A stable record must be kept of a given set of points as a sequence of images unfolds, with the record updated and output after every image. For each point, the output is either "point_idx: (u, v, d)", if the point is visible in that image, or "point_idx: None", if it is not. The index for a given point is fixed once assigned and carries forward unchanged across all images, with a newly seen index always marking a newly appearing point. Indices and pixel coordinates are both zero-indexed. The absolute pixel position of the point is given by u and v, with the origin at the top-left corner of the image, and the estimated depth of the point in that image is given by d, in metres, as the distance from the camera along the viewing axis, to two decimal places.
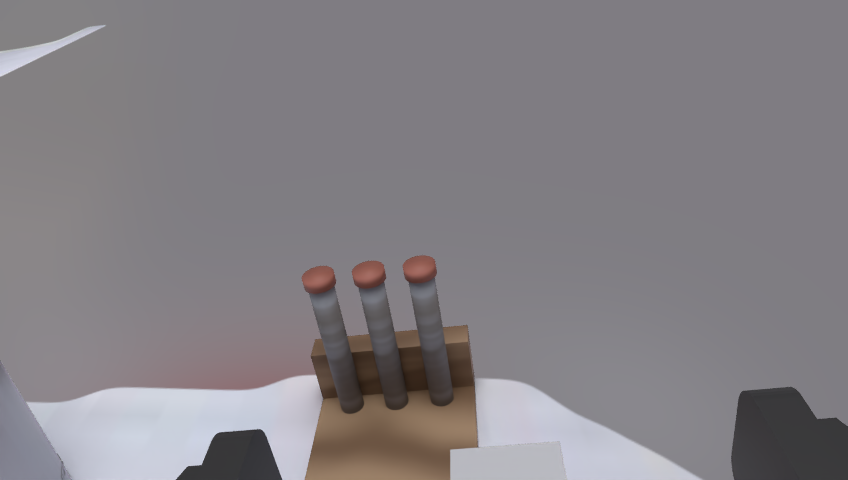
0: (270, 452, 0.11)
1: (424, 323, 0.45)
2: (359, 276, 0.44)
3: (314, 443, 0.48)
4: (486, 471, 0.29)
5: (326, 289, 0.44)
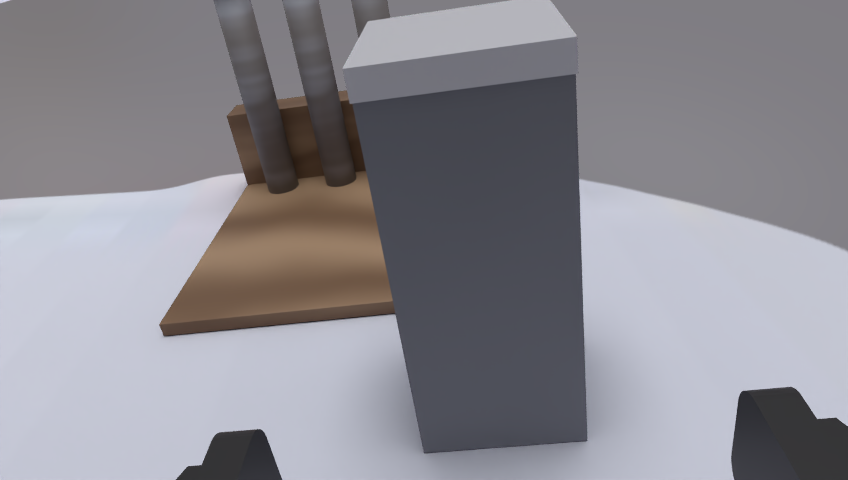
0: (270, 452, 0.11)
1: None
2: None
3: (227, 220, 0.36)
4: (422, 23, 0.17)
5: None
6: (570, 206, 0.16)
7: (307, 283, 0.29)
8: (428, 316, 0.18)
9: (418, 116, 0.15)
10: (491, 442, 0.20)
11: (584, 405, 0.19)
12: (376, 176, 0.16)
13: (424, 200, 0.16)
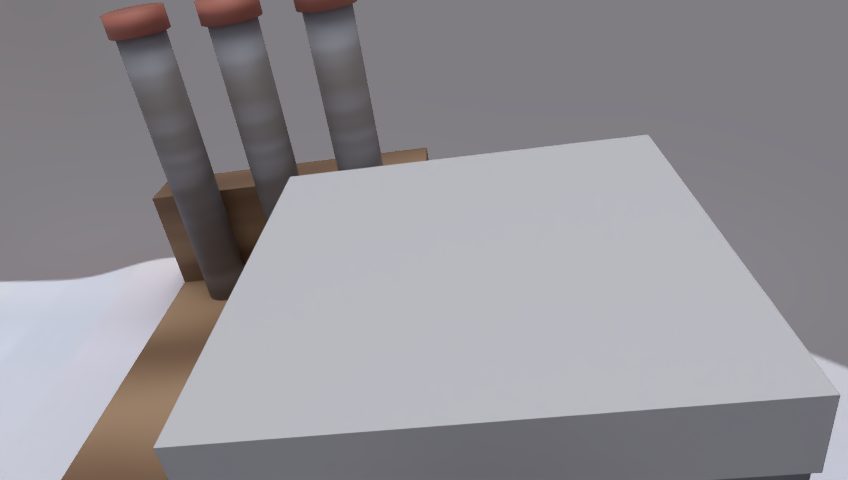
0: None
1: (338, 108, 0.24)
2: (205, 1, 0.22)
3: (148, 344, 0.27)
4: (393, 209, 0.08)
5: (145, 33, 0.23)
6: None
7: None
8: None
9: None
10: None
11: None
12: None
13: None
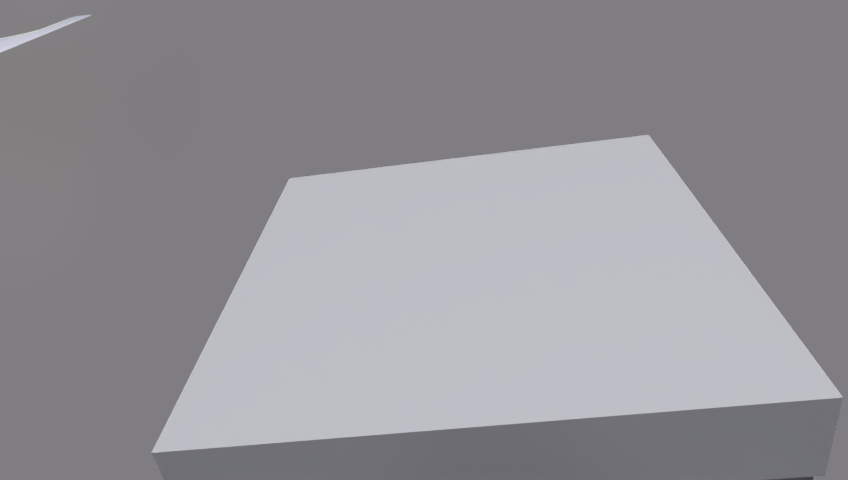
0: None
1: None
2: None
3: None
4: (393, 210, 0.08)
5: None
6: None
7: None
8: None
9: None
10: None
11: None
12: None
13: None
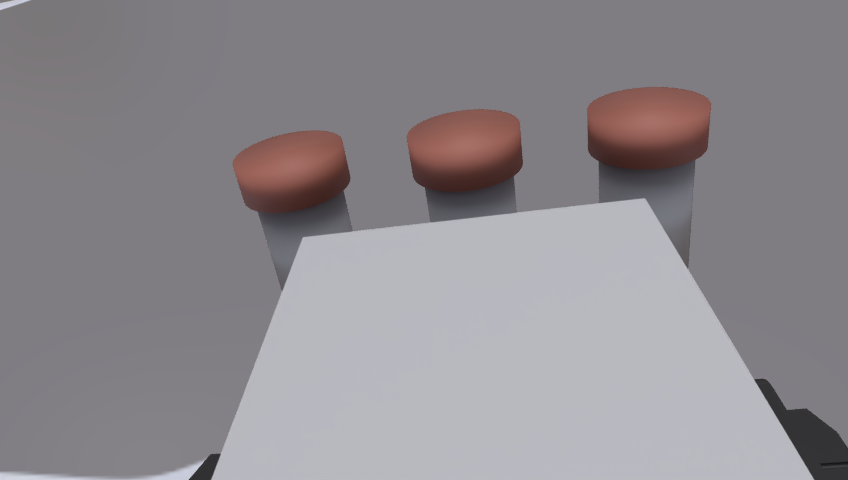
0: None
1: None
2: (438, 148, 0.12)
3: None
4: (403, 276, 0.09)
5: (317, 198, 0.13)
6: None
7: None
8: None
9: None
10: None
11: None
12: None
13: None
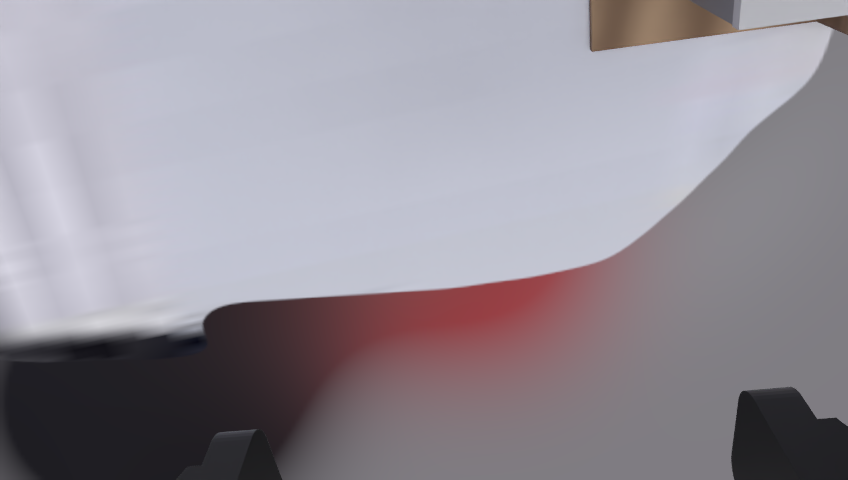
0: (270, 452, 0.11)
1: None
2: None
3: None
4: None
5: None
6: (709, 7, 0.33)
7: None
8: None
9: None
10: None
11: None
12: None
13: None
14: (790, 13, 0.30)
